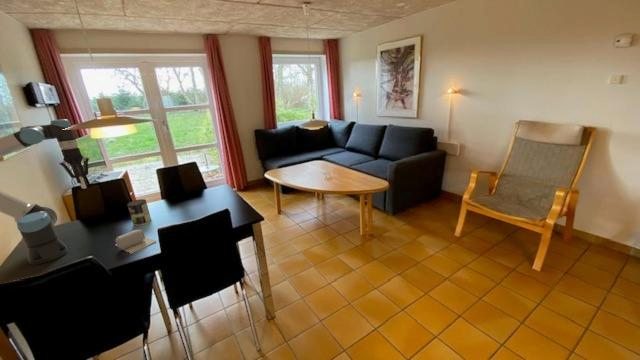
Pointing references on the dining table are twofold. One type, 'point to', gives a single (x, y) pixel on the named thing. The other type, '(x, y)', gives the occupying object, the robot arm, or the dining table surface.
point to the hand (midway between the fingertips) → (84, 187)
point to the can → (130, 239)
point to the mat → (140, 245)
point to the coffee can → (139, 212)
